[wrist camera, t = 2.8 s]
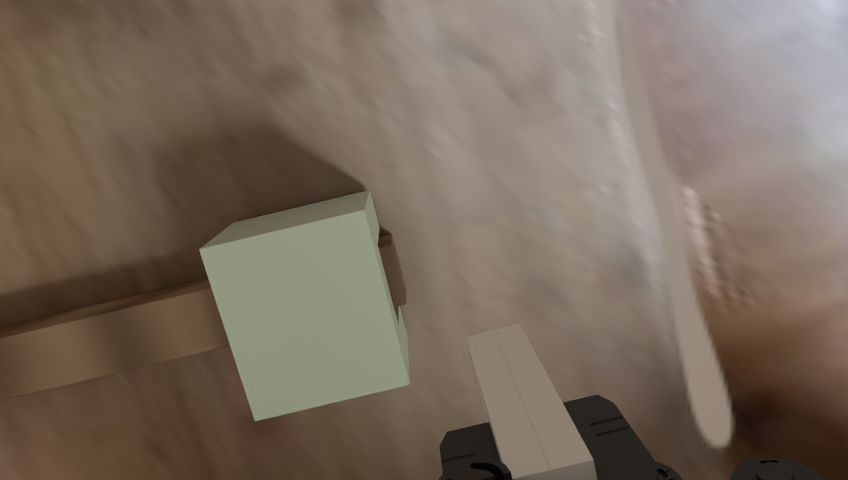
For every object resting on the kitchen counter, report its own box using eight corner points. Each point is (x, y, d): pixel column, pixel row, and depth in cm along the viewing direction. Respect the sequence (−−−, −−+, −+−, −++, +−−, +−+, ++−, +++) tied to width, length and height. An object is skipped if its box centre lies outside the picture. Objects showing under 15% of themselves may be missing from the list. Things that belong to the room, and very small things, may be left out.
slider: (369, 189, 32) (364, 209, 26) (407, 337, 34) (409, 384, 28) (233, 222, 32) (198, 249, 26) (278, 367, 34) (254, 421, 28)
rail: (382, 196, 32) (379, 218, 26) (414, 324, 34) (418, 371, 28) (-135, 320, 33) (-252, 369, 27) (-80, 441, 34) (-178, 512, 28)
